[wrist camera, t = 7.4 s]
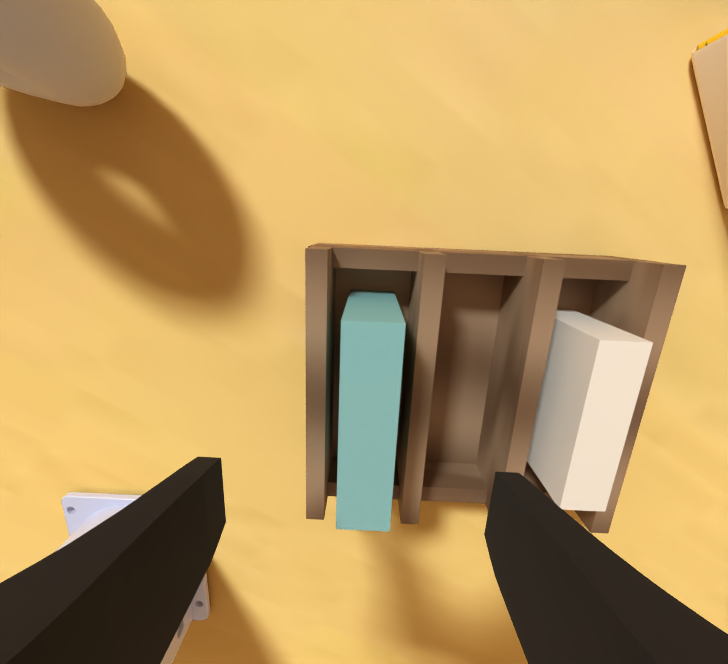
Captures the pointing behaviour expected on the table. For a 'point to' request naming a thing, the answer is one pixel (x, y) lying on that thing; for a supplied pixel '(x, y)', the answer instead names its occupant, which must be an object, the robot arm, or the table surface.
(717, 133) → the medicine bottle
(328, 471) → the rack
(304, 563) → the table surface
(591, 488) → the off-white rectangular block
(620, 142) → the table surface
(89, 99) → the grey donut
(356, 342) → the teal upright slab
